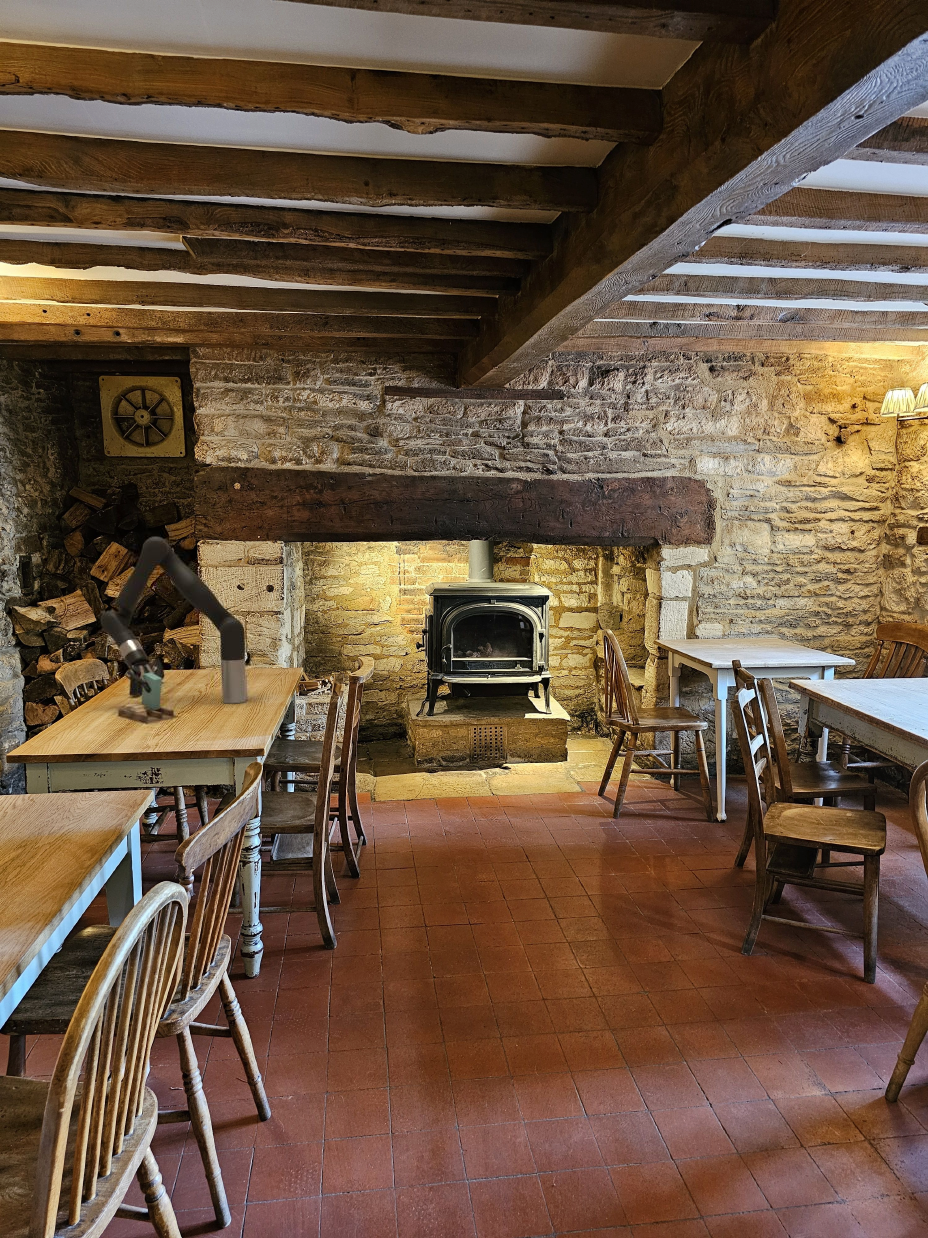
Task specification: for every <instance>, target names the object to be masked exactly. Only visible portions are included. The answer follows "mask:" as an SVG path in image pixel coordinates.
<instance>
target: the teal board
mask: <svg viewBox="0 0 928 1238" xmlns="http://www.w3.org/2000/svg"><path fill="white" fill-rule="evenodd" d="M144 675H145V679H146V680H147V681H146V682H147V683H148V684H149V686H150V688H151V692H150V693H148V692H146V691H145V689H144V687H143V691H142V694H141V705H142V706H144V707H145V708H146V709H151V710H158V709H160V707H161V698H162V684H163V679H162V678H160V677H158V676H156V675H155V674H153V673H145V674H144Z"/></svg>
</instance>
